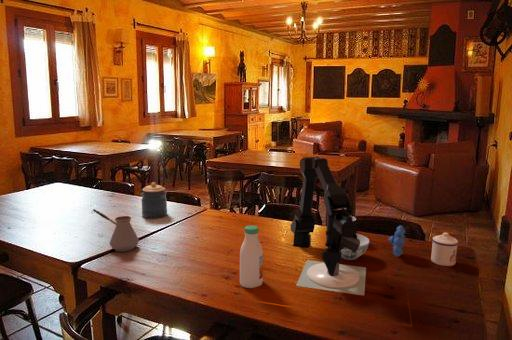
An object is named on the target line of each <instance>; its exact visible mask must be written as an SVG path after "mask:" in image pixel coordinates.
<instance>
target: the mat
mask: <svg viewBox="0 0 512 340" xmlns="http://www.w3.org/2000/svg"><path fill="white" fill-rule="evenodd" d="M320 263H324V261H318V260H317V261H316V260H309V259H307V260H306V261H305V265H304V266H303V269H302V271H301V273H300V276H299V278H298V280H297V282H296V284H295V287H303V288H308V289H309V288H310V289H314V290H315V289H316V290H324V291H328V292H329V291H330V292H336V293H345V294H351V295H358V296H365V290H366V276H367V267H364V266H358V265H357V266H356V265H350V264H345V265H346V266H348V267H351V268H353V269H354V270H356V271H357V272H358V273H359V282H358V283H357V284H356V285H354V286H351V287H347V288H329V287H324V286H321V285H318V284H316V283H314V282H312V281H311V280H310V279H309V278H308V276H307V270H308V269H309V268H310V267H311V266H313V265H316V264H320Z"/></svg>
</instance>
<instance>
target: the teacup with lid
mask: <svg viewBox="0 0 512 340" xmlns="http://www.w3.org/2000/svg"><path fill="white" fill-rule="evenodd" d="M431 241H432V245H431V246H432V247H431V254H430V255H431V256H430V261H431V262H432V263H434V264H436V265H438V266H443V267H444V266H445V267H452V266H454V265H456V263H457V262H456V261H457V251H458V244H459V241H458V239H456V238H455V237H452V236H451V235H449V232H443V233H442V234H439V235H434V236H433V237H432V240H431Z"/></svg>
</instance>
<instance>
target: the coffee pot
mask: <svg viewBox="0 0 512 340" xmlns="http://www.w3.org/2000/svg"><path fill="white" fill-rule="evenodd" d="M90 213H91V214H93V215H94V213H95V214H98V215H99V216H100V217H101V218H104V219H105V220H107V221H109V222H110V223H112V224H114V225H115V227H114V230H113V233H112V236H111V237H110V240H109V245H110V247H111V248H112V249H113V250H115V251H116V252H122V253H124V252H130V251H132V250H134V249H135V247H137V245H138V244H139V242H140V239H139V238H138V236H137V233H136V232H135V230H134V228H133V225H132V224H131V220H132V217H131V216H129V215H122V216H117V217H115V218H114V220H112V219H111V218H109V217H108V216H107V215H106V214H104V213H102V212H100V211H99V210H97V209H95V208H94V209H92V211H91V212H90Z"/></svg>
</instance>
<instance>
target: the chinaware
mask: <svg viewBox="0 0 512 340" xmlns="http://www.w3.org/2000/svg"><path fill="white" fill-rule="evenodd" d="M356 234H357V239H359V240H360V245H359V247H358V249H357V252H352V251H351V250H349V249H347V248H345V247H344V248H343V249H342V250H341V252H342V259H344V260H349V261H350V260H351V261H352V260H357V258H359V257H361V256H362V255H364V254H365V253H366V251H367V249H368V248H369V244H370V239H369V238H368V237H366V236H365V235H363V234H358V233H356Z"/></svg>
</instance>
